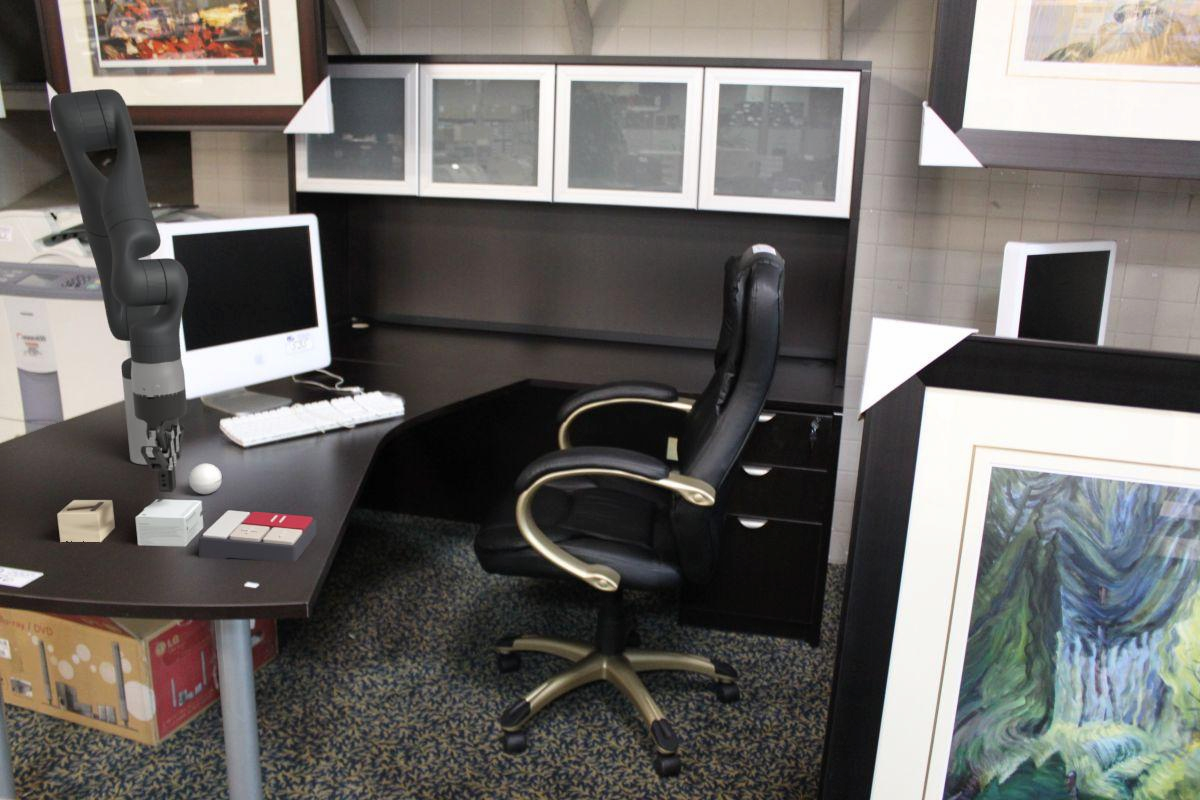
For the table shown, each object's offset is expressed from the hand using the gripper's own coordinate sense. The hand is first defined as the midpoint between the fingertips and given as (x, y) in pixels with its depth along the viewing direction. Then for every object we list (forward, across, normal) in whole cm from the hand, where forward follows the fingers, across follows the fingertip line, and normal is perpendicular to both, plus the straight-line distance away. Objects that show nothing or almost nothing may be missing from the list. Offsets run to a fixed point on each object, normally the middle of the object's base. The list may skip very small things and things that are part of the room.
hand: (167, 490), depth 152 cm
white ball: (+8, -20, 0) cm, 21 cm away
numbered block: (+8, 0, -13) cm, 15 cm away
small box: (+8, 0, 0) cm, 8 cm away
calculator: (+8, +4, +15) cm, 18 cm away
